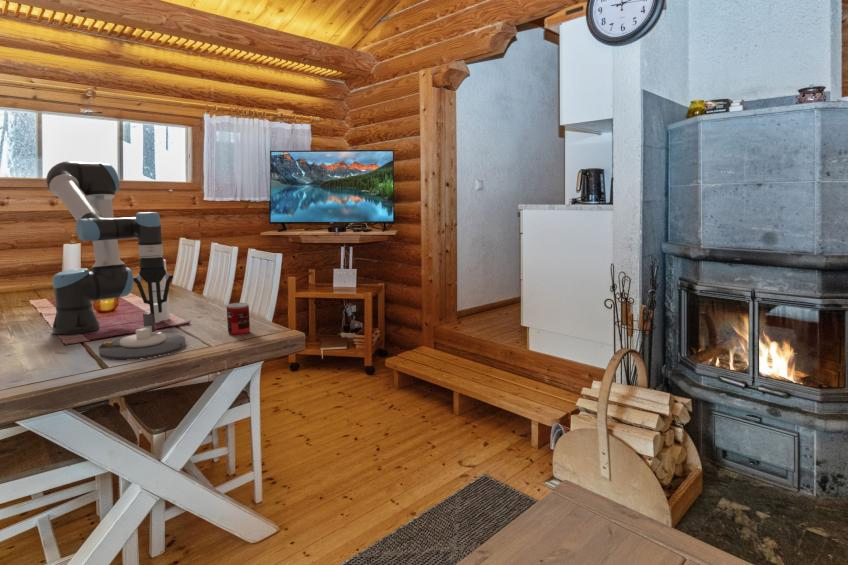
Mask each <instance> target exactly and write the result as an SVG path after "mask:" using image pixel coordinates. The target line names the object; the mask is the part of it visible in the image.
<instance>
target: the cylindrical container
mask: <svg viewBox="0 0 848 565" xmlns="http://www.w3.org/2000/svg"><path fill="white" fill-rule="evenodd" d="M164 269H165V270H166V273H168V272H167V271H168V270H167V260H166V259H164ZM165 277H166V276H164V277H163V279H162V280H161V281H160V292H161V299H162V298H163V294H164V289H165V284H166V280H167V279H166V278H165ZM152 292H153V304H155V303H157V293H156V283H155V282H153V283H152ZM169 296H170V295H169V294H168V296H167V301H166V302H163V303H162V313H159V322H163V321H162V320H165V321H168V320H167V319H169V320H171V312H170V310H171V309H170V299H169Z"/></svg>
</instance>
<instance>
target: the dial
mask: <svg viewBox="0 0 848 565" xmlns="http://www.w3.org/2000/svg"><path fill="white" fill-rule="evenodd" d="M142 319H143V320H142V321H143V327H142V328H137V329H135V334H134V335H128V337H127V336H124V337H125V338H122V337H121V338H122V339H121V340H120V341H119V342H120V346H122V347H128V348H137V347H147V346H153V345H157V344H160V343H163V342H165V341H166V335H164V334H159V332H156V331H157V330H156V323H155V317H154V313H152V314H151V312H144V313H142Z"/></svg>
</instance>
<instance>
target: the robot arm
mask: <svg viewBox="0 0 848 565" xmlns="http://www.w3.org/2000/svg"><path fill="white" fill-rule="evenodd" d="M45 182H46V186H47V188H48V190H49V191H50V193H51V194H53V196H55V197H57V198H59V199H60V201H61V202H62V203H63V205H64V206H65V207H66V209H67V211H69V213H70V214H71V215H72V217H73V218H74V219H75V220H76V223H75V232H76V234H77V237H78V239H79V240H81V241H82V242H83V241H84V242H86V241H87V242H91V243H92V247H93V254H94V261H95V262H94V264H93V265H91V270H92V271H91V270H89V268H85V267H80V268H73V269H67V270H64V271H59V272H58V273H57V272H56V273H55V274H54V275H53V276H52V288H53V293H54V301H55V302H54V303H55V310H56V311H55V312H56V313H55V317H54V321H53V325H52V334H54V335H59V334H63V336H64V335H66V336H67V335H69V334H70V335H78V334H79V333H80V334H85V333H90V332H94V331H96V330H99V329H100V322H99V320H98V317H97V315H96V313H95V311H94V309H93V302H95V301H96V302H97V301H104V300H111V299H119V298H124V297H128V295H130V294H131V293H132V290H133V286H134V283H135V284H136V286H137V289H138V291H139V293H140V295H141V298H142V301H143V303H144V304H147V305H149V311H150V312H151V314H152V313H154V317H155V324H156V323H160V321H159V313H162V303H163V302H166V301H167V296H168V295H169V290H170V287H171V286H170V285H171V282H172V280H173V278H174V276H173V274H171V273H168V272H167V273H166V270H165V269H164V260H165V259H164V257H163V256H164V250H163V249H164V247H163V238H162V222H161V217H160V214H159V213H158V212H154V211H147V212H145V211H144V212H142V211H141V212H137V213H136V214H135V216H129V217H115V215H114V209H113V208H114V207H113V202H112V201H113V199H114V198H115V197H116V195H115V194H116V193H118V192H119V190H120V178H119V175H118V172H117V171H116V169H115V168H114V166H112V165H111V164H110V163H107V162H106V163H105V162H93V161H73V160H72V161H71V160H70V161H68V160H67V161H62V162H59V163H57V164H55V165H54V166H52V167H51V168H50V169H49V171H48V172H47V174H46V178H45ZM129 239H137V246H138V247H137V248H138V256H139V267H140V269H139V272H138V273H139V274H137V275H136V276H134V275H133V271H132V269H131V268H129V267H126V263H125V262H124V261H122V260H121V257H120V248H119V243H118V242H119V241H118V240H129ZM164 276H166V277H165V278H166V279H167V280H166V284H165V289H164V294H163V298H162V299H161V292H160V281H161V280H162V279H163V277H164ZM141 278H142V279H141ZM142 280H144V282H146V283H147V292H148V298H147V296H146V293H145V291H144V288H143V286H142V283H141V281H142ZM153 282H155V283H156V293H157V303H155V304H153V292H152V283H153ZM150 312H149V313H150ZM70 335H69V336H70Z"/></svg>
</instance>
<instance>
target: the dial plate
mask: <svg viewBox="0 0 848 565" xmlns="http://www.w3.org/2000/svg"><path fill="white" fill-rule="evenodd" d="M158 333H159V334H164V335H166V341H165V342H163V343H160V344H157V345H153V346H147V347H137V348H128V347H122V346H120V342H119V341H120V340H121V339H122V338H125V337H128V336H129V335H128V336H127V335H126V336H124V337H117V338H114V339H111V340H107V341H104V342H103V343H102V344H101V345H99V346H98V353H99V356H100V357H101V358H103V359H106V358H107V359H108V360H113V359H115V361H128V360H127V359H135V360H141V359H140V358H145V359H149V358H148V357H152V358H155V357H154V356H157V357H160V356H159V355H162V356H165V355H164V354H166V355H169V354H168V353H170V354H173V353H176V352H178V351H180V350H182V349H184V348H185V347H186V344H187V343H186V337H185V336H184V335H182V334H178V333H171V332H161V331H159V332H158ZM175 351H176V352H175ZM172 352H173V353H172Z"/></svg>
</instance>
